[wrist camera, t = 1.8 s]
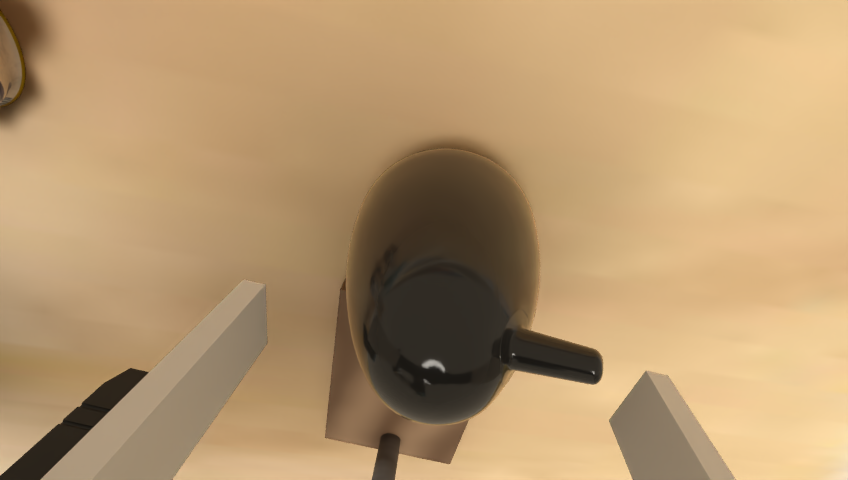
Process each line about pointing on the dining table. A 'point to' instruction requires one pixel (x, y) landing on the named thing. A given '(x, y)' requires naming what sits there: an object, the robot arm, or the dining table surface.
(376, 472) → the holder
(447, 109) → the dining table surface
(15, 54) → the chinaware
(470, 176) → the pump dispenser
